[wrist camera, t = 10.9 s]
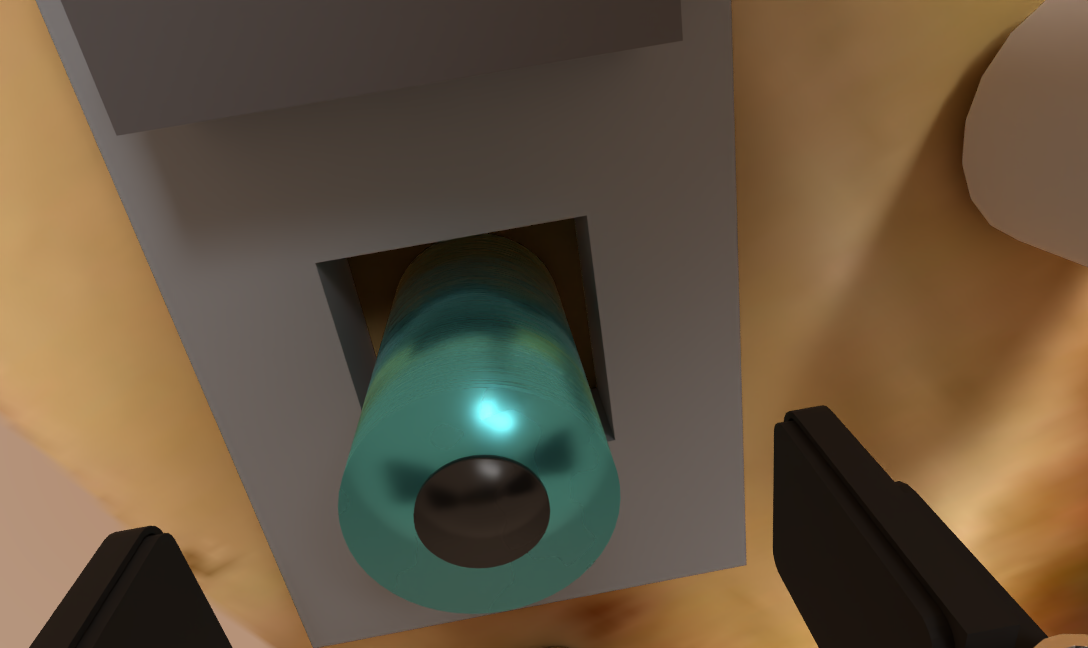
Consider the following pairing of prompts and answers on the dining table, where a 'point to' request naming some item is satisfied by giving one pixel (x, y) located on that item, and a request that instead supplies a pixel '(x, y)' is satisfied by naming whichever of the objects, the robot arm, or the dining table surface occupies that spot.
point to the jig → (431, 235)
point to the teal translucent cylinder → (478, 439)
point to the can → (1035, 133)
